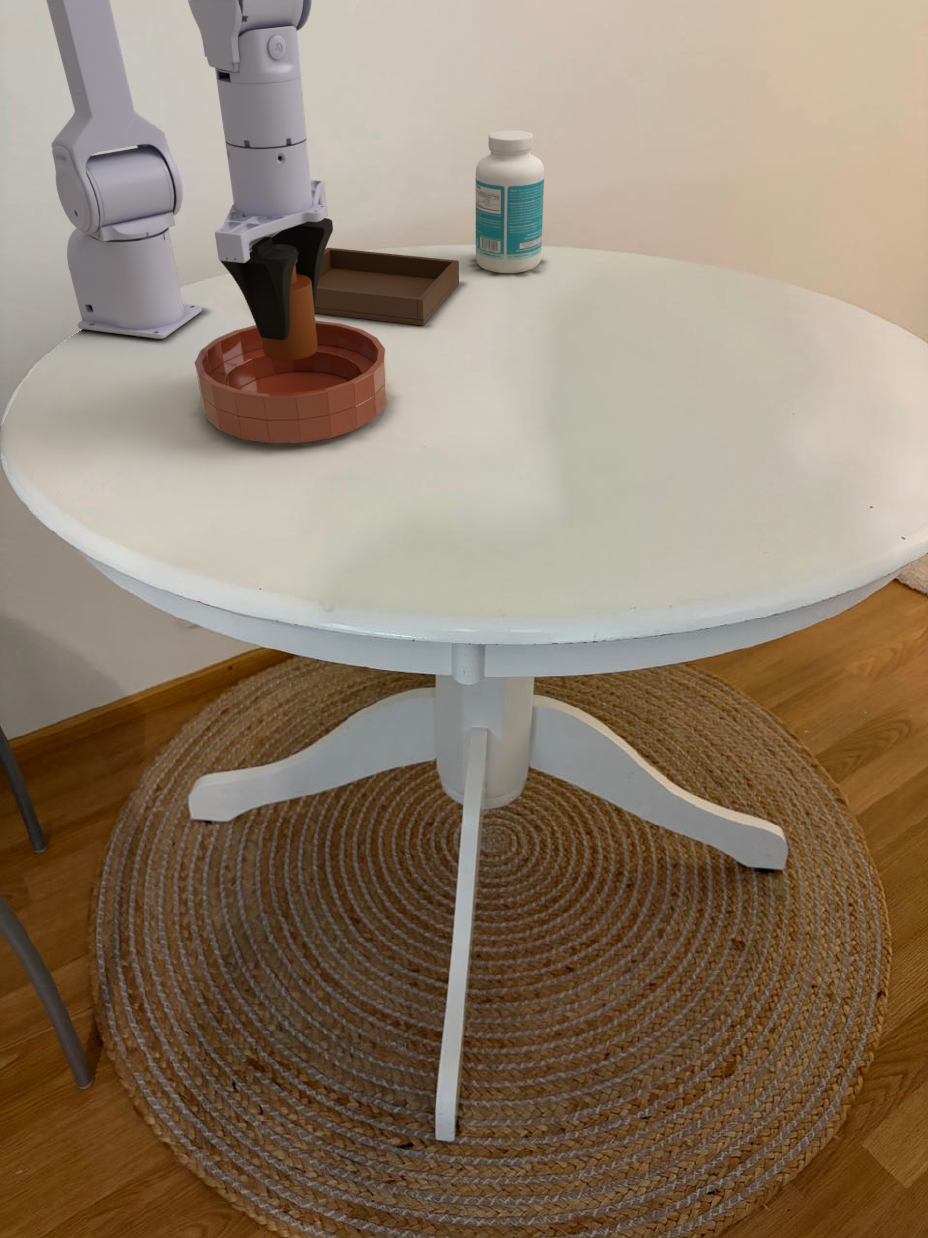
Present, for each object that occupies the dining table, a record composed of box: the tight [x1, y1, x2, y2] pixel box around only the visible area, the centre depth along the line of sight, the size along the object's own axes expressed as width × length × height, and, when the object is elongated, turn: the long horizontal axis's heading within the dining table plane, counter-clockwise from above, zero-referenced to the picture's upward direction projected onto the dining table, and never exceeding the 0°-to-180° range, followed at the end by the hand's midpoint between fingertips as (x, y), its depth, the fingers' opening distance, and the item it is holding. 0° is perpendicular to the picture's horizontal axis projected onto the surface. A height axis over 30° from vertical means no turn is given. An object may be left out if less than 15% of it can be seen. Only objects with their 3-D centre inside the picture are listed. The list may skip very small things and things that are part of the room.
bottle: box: [261, 244, 318, 361], centre depth 75 cm, size 4×4×8 cm
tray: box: [314, 247, 460, 327], centre depth 100 cm, size 15×12×3 cm
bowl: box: [194, 319, 388, 444], centre depth 79 cm, size 15×15×4 cm
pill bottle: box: [475, 129, 545, 274], centre depth 104 cm, size 8×7×14 cm
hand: (287, 325), depth 76 cm, fingers closed on bottle, 4 cm apart
